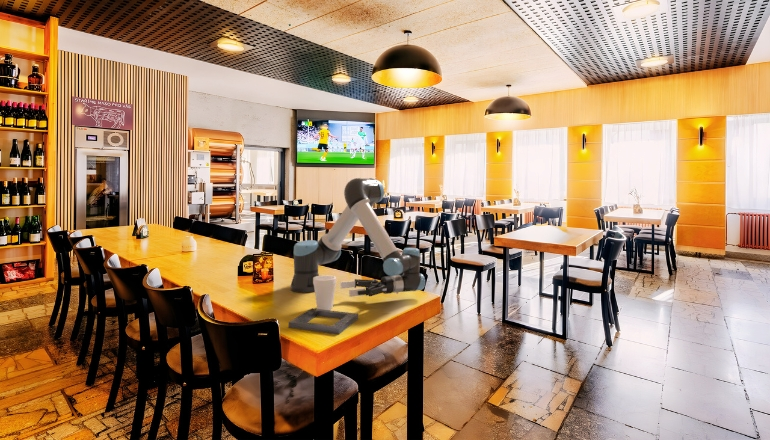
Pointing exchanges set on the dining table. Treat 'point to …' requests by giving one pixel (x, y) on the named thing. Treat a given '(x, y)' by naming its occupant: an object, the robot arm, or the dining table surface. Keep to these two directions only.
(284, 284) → the dining table surface
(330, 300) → the foam cup
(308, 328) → the square frame
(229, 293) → the dining table surface
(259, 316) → the dining table surface
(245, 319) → the dining table surface
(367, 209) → the robot arm
